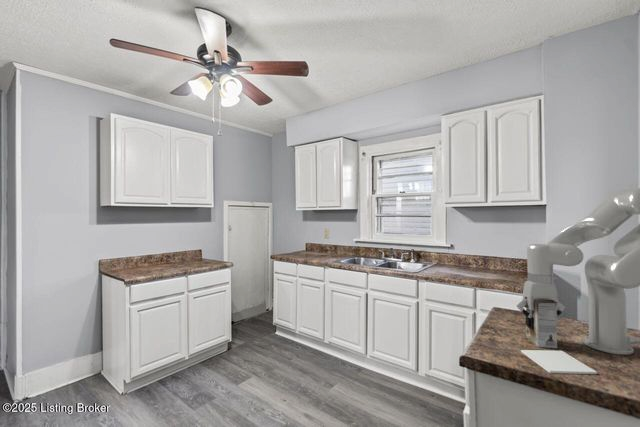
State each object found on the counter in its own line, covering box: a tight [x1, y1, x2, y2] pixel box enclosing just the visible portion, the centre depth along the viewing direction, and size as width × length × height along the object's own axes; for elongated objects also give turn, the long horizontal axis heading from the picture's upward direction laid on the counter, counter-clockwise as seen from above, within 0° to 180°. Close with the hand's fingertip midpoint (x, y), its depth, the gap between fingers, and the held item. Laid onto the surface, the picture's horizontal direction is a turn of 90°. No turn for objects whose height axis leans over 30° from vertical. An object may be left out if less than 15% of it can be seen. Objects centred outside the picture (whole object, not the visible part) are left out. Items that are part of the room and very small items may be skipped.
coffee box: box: [525, 300, 558, 349], centre depth 110 cm, size 9×6×16 cm
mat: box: [520, 349, 598, 375], centre depth 95 cm, size 13×14×1 cm
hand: (541, 327), depth 110 cm, fingers closed on coffee box, 6 cm apart
